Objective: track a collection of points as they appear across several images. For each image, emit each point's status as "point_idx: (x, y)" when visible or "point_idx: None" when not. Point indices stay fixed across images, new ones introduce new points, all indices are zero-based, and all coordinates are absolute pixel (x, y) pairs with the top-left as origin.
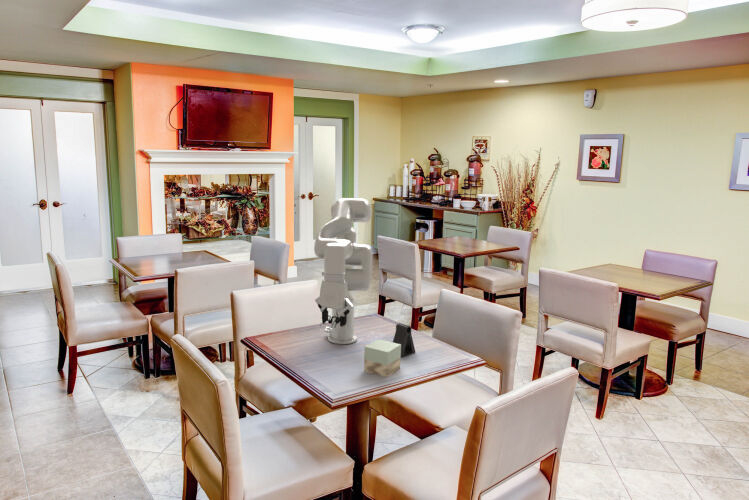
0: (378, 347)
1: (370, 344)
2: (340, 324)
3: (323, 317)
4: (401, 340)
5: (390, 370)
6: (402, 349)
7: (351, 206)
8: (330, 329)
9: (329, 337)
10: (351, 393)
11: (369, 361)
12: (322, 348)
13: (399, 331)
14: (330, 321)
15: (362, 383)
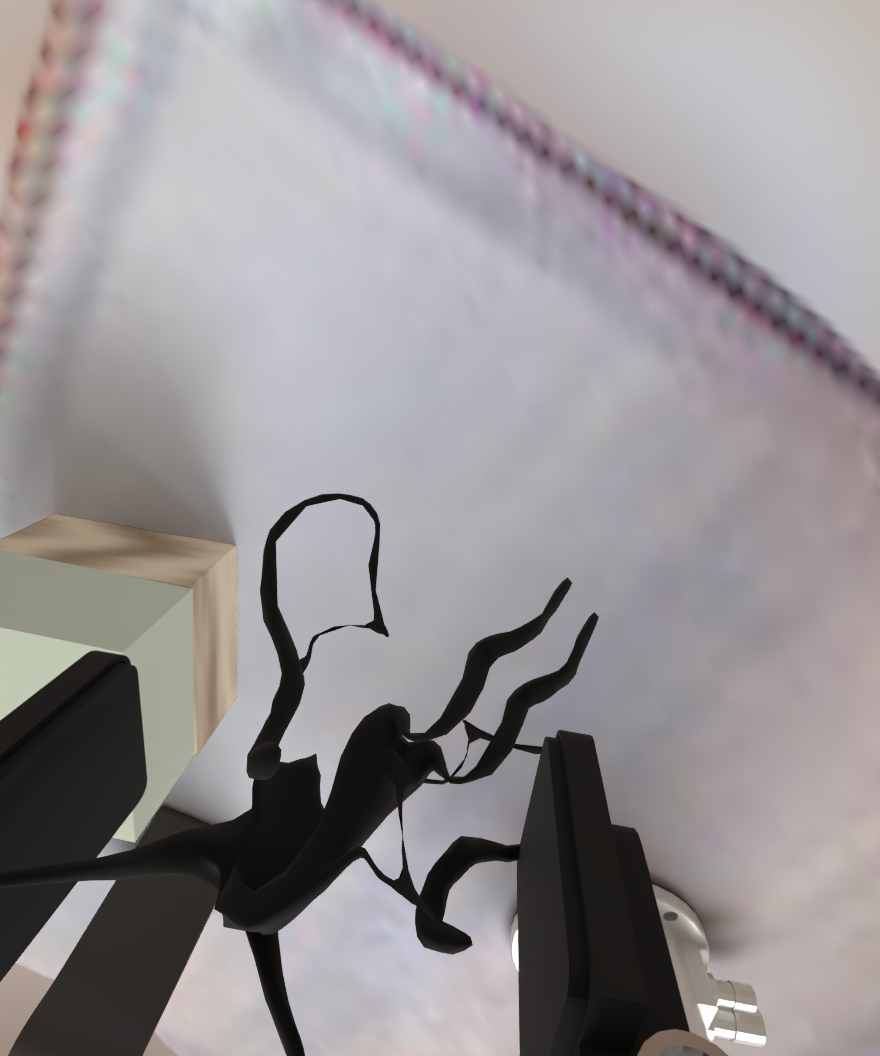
0: (6, 674)
1: None
2: (86, 676)
3: (570, 836)
4: (120, 927)
5: None
6: None
7: None
8: (708, 1004)
9: (692, 933)
10: (86, 101)
11: (146, 574)
12: (680, 790)
13: (121, 1010)
14: (363, 749)
15: (128, 337)
